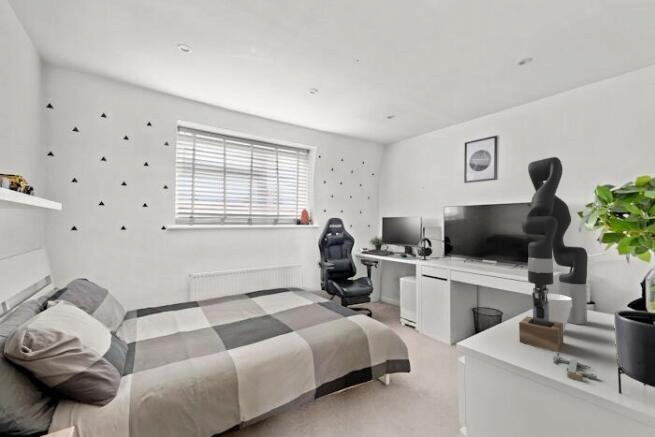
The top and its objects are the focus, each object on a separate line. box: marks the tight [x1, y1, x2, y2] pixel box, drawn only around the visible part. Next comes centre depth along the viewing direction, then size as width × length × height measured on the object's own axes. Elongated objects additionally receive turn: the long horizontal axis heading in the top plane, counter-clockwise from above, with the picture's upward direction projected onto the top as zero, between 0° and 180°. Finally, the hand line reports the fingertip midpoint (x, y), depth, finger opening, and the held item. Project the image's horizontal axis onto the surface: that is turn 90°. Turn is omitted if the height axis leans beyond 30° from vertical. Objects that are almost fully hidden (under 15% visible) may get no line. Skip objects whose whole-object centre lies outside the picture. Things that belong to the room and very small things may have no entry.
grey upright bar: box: [532, 300, 549, 327], centre depth 105 cm, size 4×4×12 cm
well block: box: [518, 315, 564, 353], centre depth 104 cm, size 11×11×7 cm
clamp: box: [552, 352, 598, 382], centre depth 85 cm, size 15×2×10 cm
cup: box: [548, 292, 572, 334], centre depth 117 cm, size 12×12×14 cm
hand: (541, 317), depth 105 cm, fingers closed on grey upright bar, 2 cm apart
